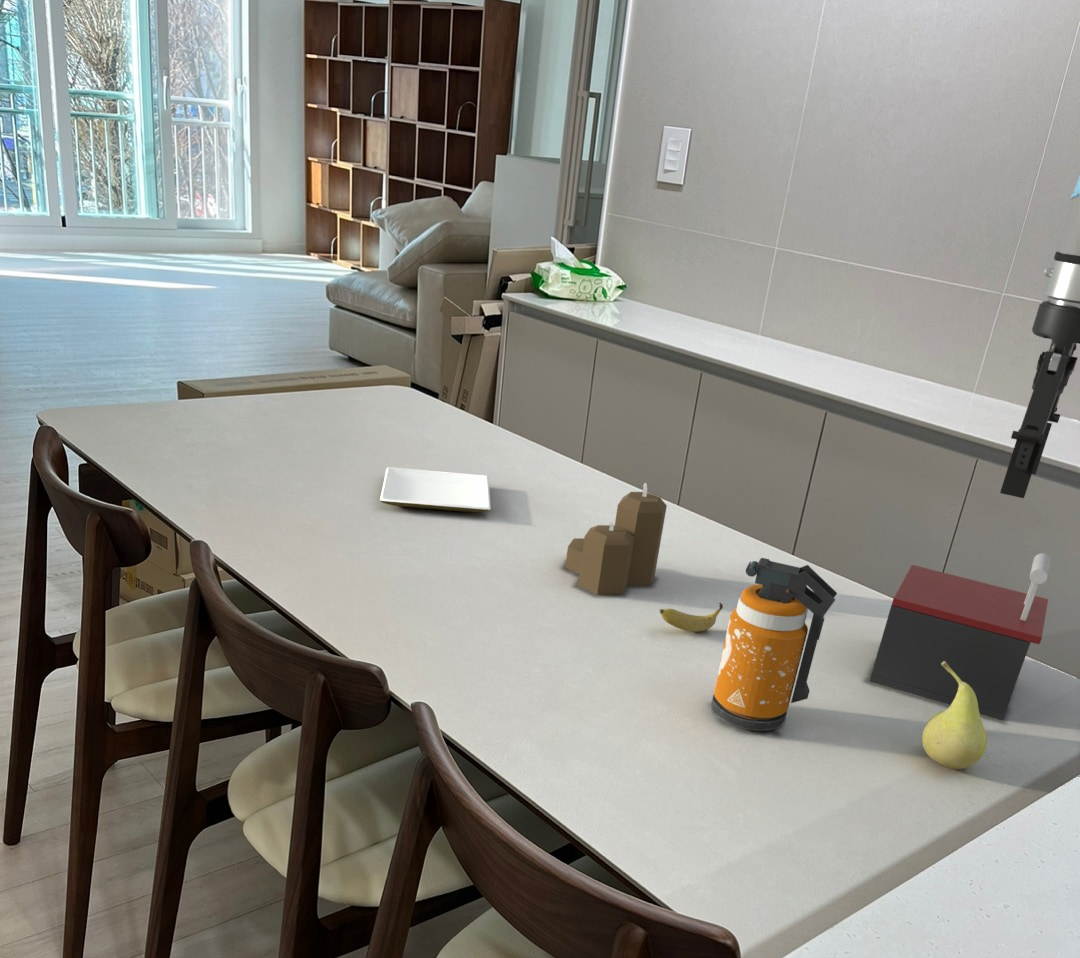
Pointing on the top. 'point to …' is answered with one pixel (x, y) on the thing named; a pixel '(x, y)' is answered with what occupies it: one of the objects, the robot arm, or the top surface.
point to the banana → (689, 620)
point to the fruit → (956, 730)
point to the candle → (620, 547)
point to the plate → (436, 490)
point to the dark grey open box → (948, 660)
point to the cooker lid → (978, 601)
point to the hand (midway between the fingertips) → (1018, 483)
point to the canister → (770, 645)
